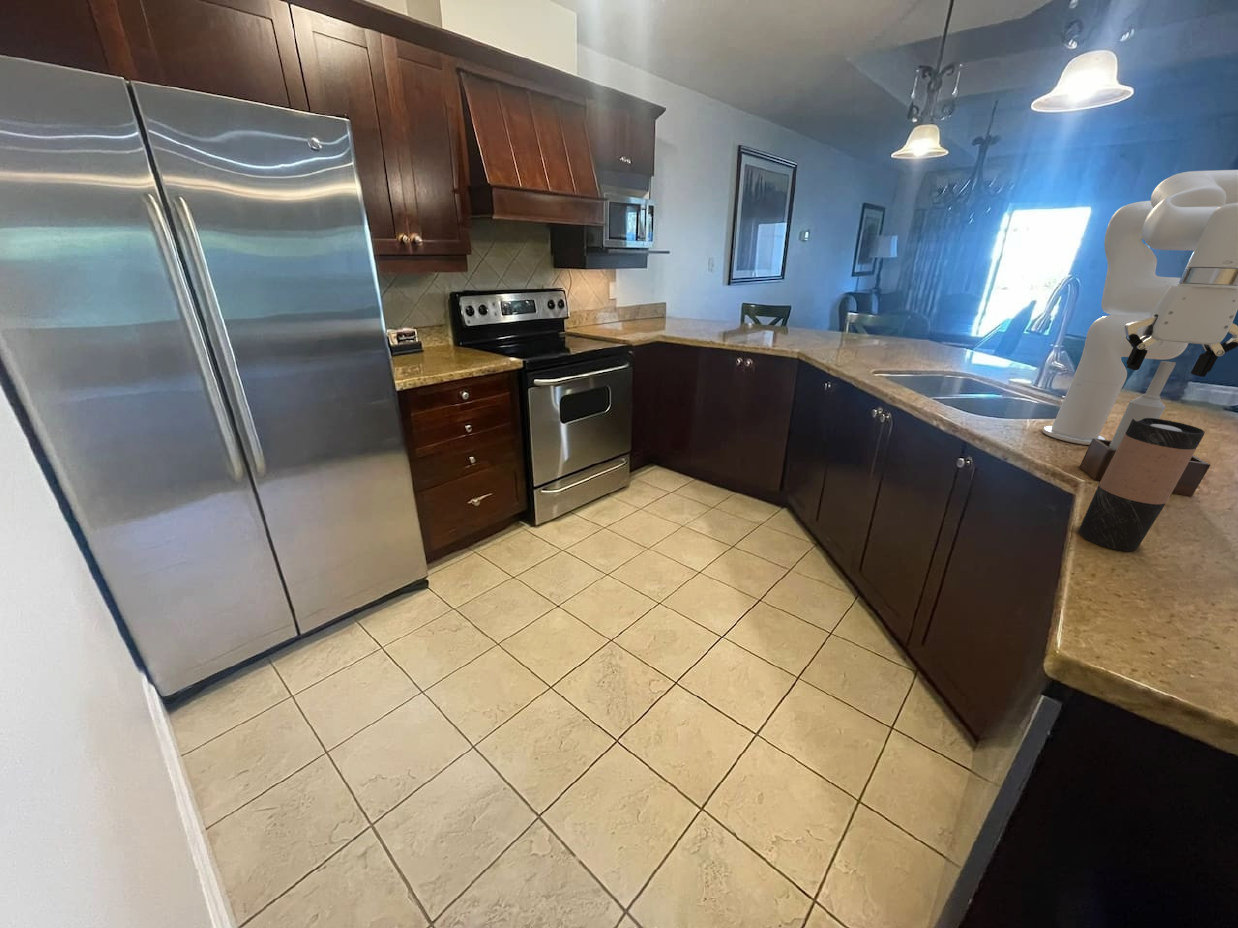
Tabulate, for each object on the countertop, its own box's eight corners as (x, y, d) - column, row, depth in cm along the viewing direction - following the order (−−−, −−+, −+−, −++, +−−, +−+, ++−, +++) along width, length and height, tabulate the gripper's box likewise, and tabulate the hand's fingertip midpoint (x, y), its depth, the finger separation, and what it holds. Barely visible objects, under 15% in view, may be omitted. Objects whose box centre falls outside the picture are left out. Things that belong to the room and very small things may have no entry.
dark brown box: (1079, 466, 107) (1092, 438, 105) (1169, 481, 102) (1186, 451, 99) (1094, 480, 101) (1109, 449, 98) (1192, 496, 95) (1210, 464, 92)
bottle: (1133, 483, 100) (1196, 365, 90) (1105, 480, 101) (1164, 363, 91) (1115, 473, 104) (1172, 360, 94) (1088, 470, 105) (1142, 358, 95)
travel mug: (1146, 558, 73) (1217, 437, 65) (1081, 542, 77) (1141, 426, 69) (1130, 536, 79) (1193, 423, 71) (1071, 522, 83) (1124, 413, 75)
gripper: (1262, 282, 86) (1211, 374, 93) (1138, 276, 93) (1099, 363, 99) (1294, 282, 80) (1238, 381, 87) (1159, 277, 86) (1116, 369, 93)
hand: (1164, 372), depth 93 cm, fingers open, 9 cm apart
